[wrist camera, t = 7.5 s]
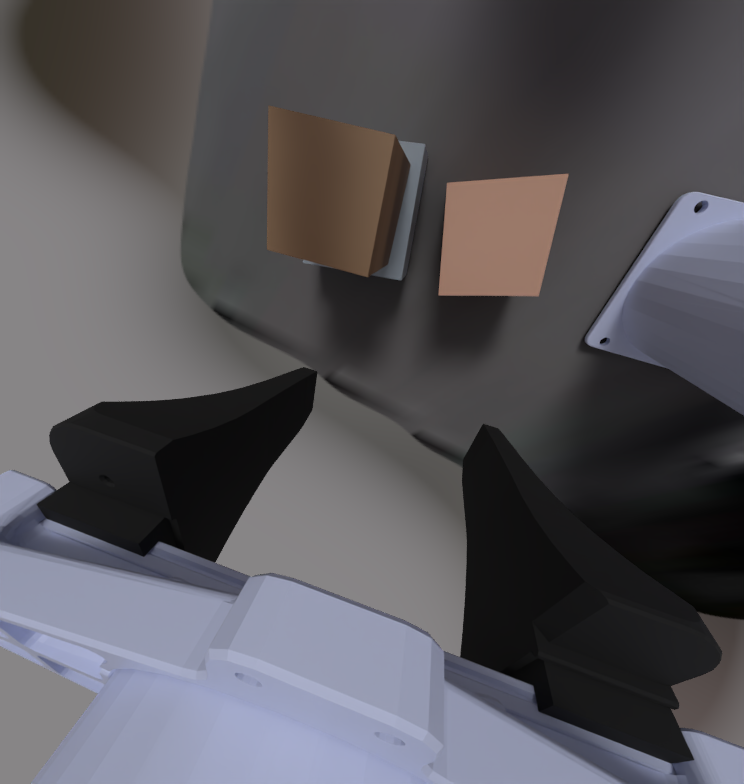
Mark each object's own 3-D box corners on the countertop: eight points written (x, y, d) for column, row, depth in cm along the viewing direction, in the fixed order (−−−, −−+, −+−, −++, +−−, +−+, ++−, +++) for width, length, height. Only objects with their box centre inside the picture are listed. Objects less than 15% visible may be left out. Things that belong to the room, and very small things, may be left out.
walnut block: (410, 164, 13) (395, 134, 9) (388, 264, 16) (367, 277, 12) (322, 143, 14) (268, 105, 10) (313, 244, 16) (266, 249, 12)
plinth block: (428, 158, 16) (425, 143, 13) (407, 273, 19) (401, 280, 16) (325, 145, 16) (303, 129, 14) (321, 258, 19) (303, 262, 17)
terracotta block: (533, 189, 15) (568, 173, 11) (515, 279, 17) (538, 295, 13) (446, 195, 16) (447, 182, 12) (440, 280, 18) (438, 295, 14)
